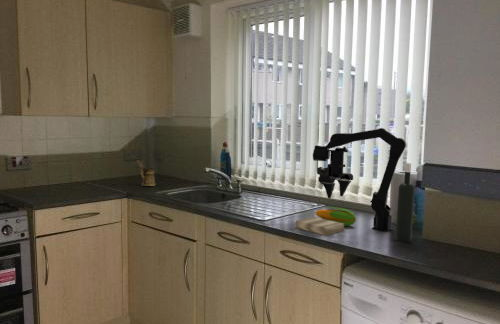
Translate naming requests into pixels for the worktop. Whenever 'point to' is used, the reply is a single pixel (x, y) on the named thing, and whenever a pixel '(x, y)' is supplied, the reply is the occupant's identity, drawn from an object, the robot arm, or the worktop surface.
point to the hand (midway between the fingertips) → (335, 197)
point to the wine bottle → (405, 208)
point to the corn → (337, 215)
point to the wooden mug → (146, 175)
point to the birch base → (319, 225)
